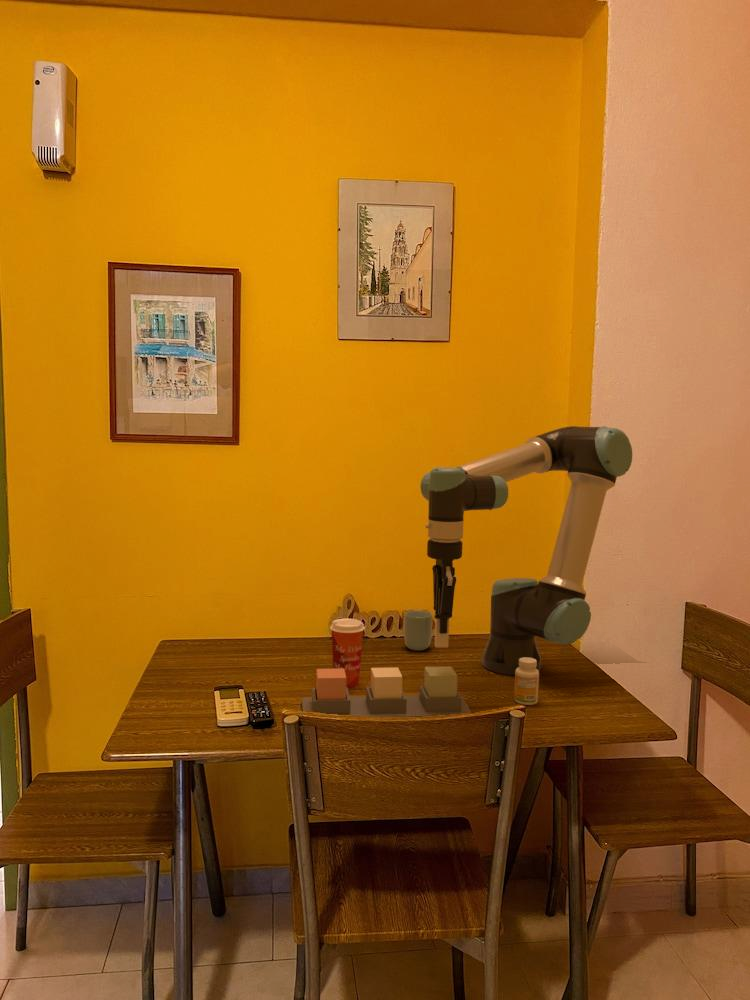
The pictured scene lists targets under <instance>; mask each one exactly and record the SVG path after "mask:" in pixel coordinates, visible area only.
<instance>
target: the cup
mask: <svg viewBox="0 0 750 1000" xmlns="http://www.w3.org/2000/svg"><path fill="white" fill-rule="evenodd" d="M433 617H434V615H433V613H432V612H430V611H426V610H418V609H417V610H415V609H414V610H412V609H411V610H407V611H406V612H405V613H404V621H403V624H404V626H403V636H404V637H403V638H404V643H405V645H406V647H407V648H408V649H409V650H411V651H418V652H420V651H425V650H427V649H428V648H429V647H430V645H431V642H432V635H433V619H434V618H433Z"/></svg>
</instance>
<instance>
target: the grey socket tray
mask: <svg viewBox="0 0 750 1000" xmlns="http://www.w3.org/2000/svg"><path fill="white" fill-rule="evenodd" d="M365 689H366V690H365V696H359V695H358V696H350V693H349V687H346V699H339V700H317V693H316V687H311V697H301V709H302V710H303V711H313V712H320V713H326V714H338V715H351V716H371V717H422V716H438V715H450V714H461V713H469V712H472V710H471V709H470V707H469V706H468V704H467V703H466V701H465V699H464V698H463V697H462V695H461V693H459V692H458V691H459V690H457V697H428V695H427V693H426V691H425V690H424V685H419V691H418V694H408V695H407V694H406V695H405V692H404V690H403V689H402V698H383V699H373V696H372V692H371V686H366V687H365ZM302 710H301V711H302ZM303 711H302V712H303Z"/></svg>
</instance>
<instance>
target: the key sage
mask: <svg viewBox="0 0 750 1000" xmlns="http://www.w3.org/2000/svg"><path fill="white" fill-rule="evenodd" d="M423 686H424V690H425V691H426V693H427V695H428V697H457V691H458V674H457V673H456V671H455V670H454V669H453V667H452V666H424V681H423Z"/></svg>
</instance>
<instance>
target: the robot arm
mask: <svg viewBox="0 0 750 1000" xmlns="http://www.w3.org/2000/svg"><path fill="white" fill-rule="evenodd" d="M632 461H633V449H632V445H631V442H630V439H629V437H628V435H627V434H626V433H625V432H624V431H622V430H621V429H619V428H616V427H607V426H603V425H602V426H575V425H574V426H572V425H571V426H564V427H560V428H557V429H553V430H550V431H547V432H543V433H541V434H538V435H536V436H535V435H534V436H532V437H530V438H528V439H527V440H526V441H525V442H524V444H522V445H519V446H516V447H515V446H514V447H513V448H510V449H509V448H508V449H506V450H503V451H501V452H498V453H495V454H492V455H489V456H487V457H486V456H485V457H483V458H480V459H478V460H474V461H471V462H468V463H465V464H463V465H459V466H456V467H449V466H446V467H445V466H443V467H441V466H439V467H434V468H432V469H431V470H430V471H428V472H427V473H425V474H424V475H423V476H422V479H421V480H420V485H419V487H420V493H421V495H422V497H423V498H424V499H425V500H426V501H428V515H427V517H428V523H426V524H425V528H426V529H427V537H428V538H430V539H428V540H427V544H426V545H427V547H426V548H427V549H426V556H427V558H430V559H432V560H433V559H434V560H435V564H434V565H432V568H431V569H432V578H433V579H432V582H433V583H432V585H433V592H432V593H433V611H434V615H433V617H434V620H435V624H434V626H435V627H434V632H435V633H434V647H435V648H449V640H450V639H449V635H450V634H449V633H450V618H453V609H454V607H453V606H454V598H455V597H454V596H455V588H456V583H457V576H455V574H456V568H455V567H454V565H453V564H454V563H453V561H454V560H460V559H461V558H462V557H463V542H462V539H463V538H464V517H465V516H464V515H465V512H466V511H485V510H489V511H492V510H497V509H500V508H503V507H504V506H505V505H506V503H507V502H508V499H509V486H508V483H509V482H511V481H514V480H516V479H519V478H522V477H525V476H528V475H531V474H533V473H536V474H544V473H548V472H552V471H553V472H554V471H555V472H556V471H557V472H558V471H559V472H560V471H562V472H567V477H568V478H569V481H570V482H571V484H570V487H569V491H568V496H567V499H566V502H565V506H564V510H563V514H562V518H561V522H560V524H559V528H558V533H557V536H556V540H555V544H554V546H553V547H554V548H553V552H552V556H551V559H550V563H549V566H548V570H547V574H546V575H545V576H544V577H542V578H540V579H539V580H537V579H535V578H529V577H527V578H526V577H518V578H517V577H516V578H515V577H512V578H502V579H497V580H495V581H494V582H493V583H492V589H491V594H490V629H489V630H490V631H489V637H488V639H487V643H486V646H485V649H484V650H483V652H482V658H481V659H482V660H481V661H482V662H481V665H482V666H483V668H485V669H487V670H488V671H491V672H493V673H497V674H501V675H510V676H515V671H516V669H517V668H518V667H520V666H519V659H520V658H523V657H528V658H533V659H536V660H537V666H536V669H537V670H538V671H539V672H540V671H541V669H542V658H541V655H540V652H539V647H538V644H537V639H536V637H539V638H541V639H543V640H546V641H548V642H550V643H557V644H560V645H571V644H574V643H576V642H577V641H578V640H579V639H581V638H582V637H583V636H584V634H585V633H587V630H588V627H589V625H590V622H591V617H592V612H591V611H590V610H591V607H590V605H589V603H588V602H587V601H586V600H585V599H586V597H587V592H586V590H585V588H584V586H583V581H584V578H585V574H586V570H587V567H588V562H589V559H590V555H591V552H592V548H593V545H594V540H595V538H596V537H595V536H596V532H597V529H598V525H599V522H600V518H601V514H602V509H603V506H604V502H605V499H606V495H607V491H608V490H610V489H612V488H614V487H615V486H616V482H617V478H618V477H622V476H624V475H625V474H626V473H627V472H628V471H629V469H630V468H631V465H632Z"/></svg>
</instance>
